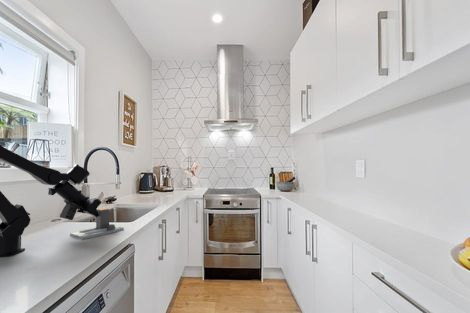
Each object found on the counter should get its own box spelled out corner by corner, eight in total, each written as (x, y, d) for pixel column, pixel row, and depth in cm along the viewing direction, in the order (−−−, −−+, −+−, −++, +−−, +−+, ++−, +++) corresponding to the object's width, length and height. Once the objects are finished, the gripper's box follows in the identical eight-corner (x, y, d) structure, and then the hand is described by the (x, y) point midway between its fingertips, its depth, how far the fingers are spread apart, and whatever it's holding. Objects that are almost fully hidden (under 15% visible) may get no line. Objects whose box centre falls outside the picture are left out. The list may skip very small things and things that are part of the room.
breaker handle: (100, 230, 109) (100, 210, 109) (96, 229, 111) (96, 209, 111) (109, 228, 112) (109, 208, 112) (104, 227, 114) (105, 208, 114)
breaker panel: (81, 239, 99) (81, 231, 99) (70, 235, 105) (70, 228, 105) (123, 229, 114) (123, 222, 114) (111, 226, 120) (111, 220, 120)
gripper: (43, 207, 101) (73, 229, 110) (64, 212, 91) (95, 235, 100) (65, 186, 108) (91, 208, 117) (87, 188, 98) (114, 212, 106)
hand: (97, 216), depth 110 cm, fingers closed
